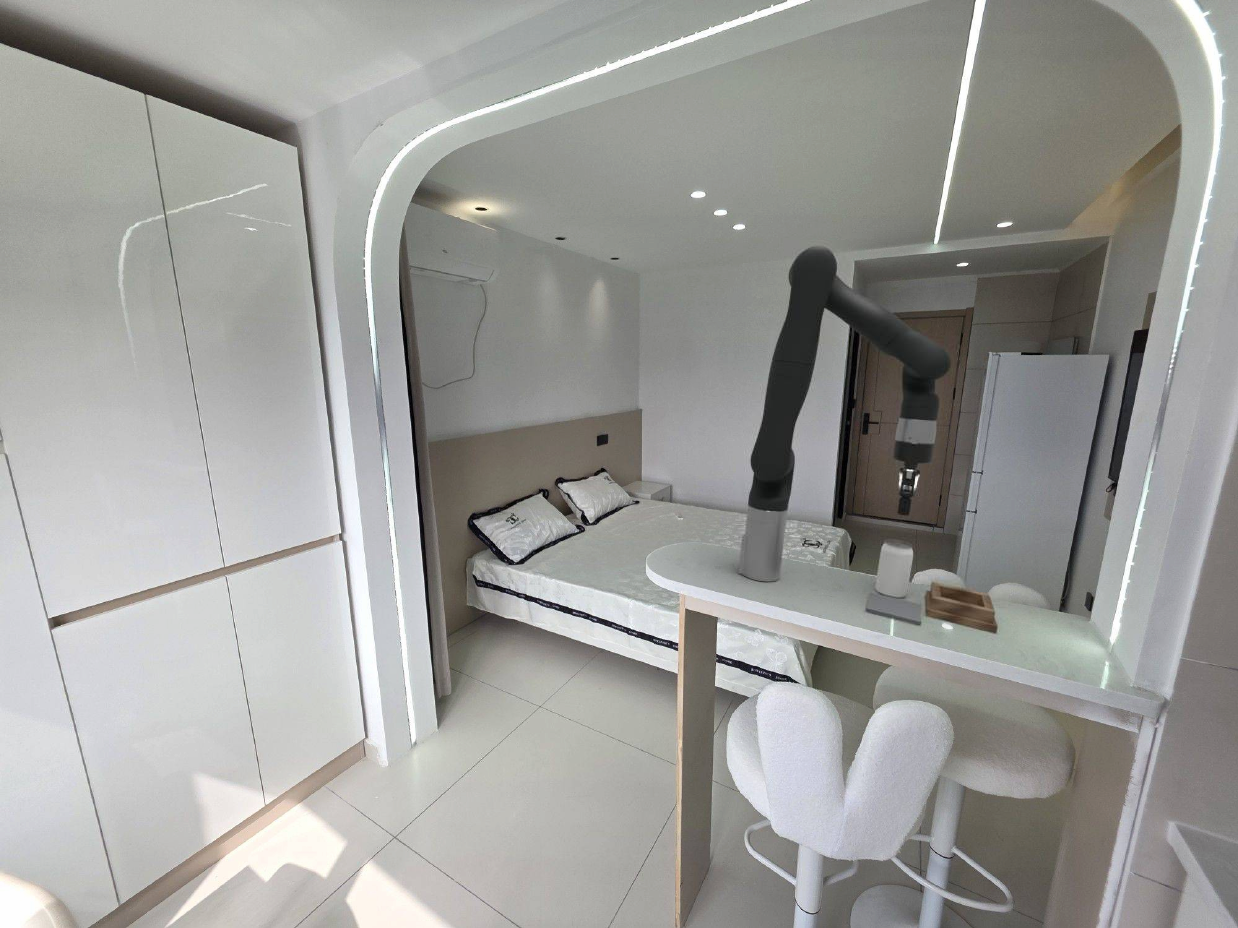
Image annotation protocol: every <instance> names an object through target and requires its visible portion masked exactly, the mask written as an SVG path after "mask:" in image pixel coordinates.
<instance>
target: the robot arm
mask: <svg viewBox="0 0 1238 928" xmlns="http://www.w3.org/2000/svg"><path fill="white" fill-rule="evenodd" d="M837 271H838V263H837V259H836V256H835V255H834V253H833V252H832V250H830V249H829V248H827V247H826V246H823V245H813V246H810V247H808V248H806V249H805V250H803V251H802V252H800V253H799V254H798V255H797V256H796V258H795V259H794V261H793V262H792V264H791V266H790V269H789V272H788V283H789V285H790V292H789V293H790V294H789V299H788V300H789V301H788V307H787V312H786V315H785V318H784V319H785V320H784V322H783V325H782V328H781V330H780V333H779V335H778V339H777V341H776V344H775V347H774V351H773V354H772V358H771V364H770V367H769V372H768V377H767V384H766V389H765V390H766V391H765V398H764V405H763V413H762V420H761V423H760V425H759V427H760V428H759V430H758V434H757V438H756V439H755V443H754V446H753V448H752V451H751V455H750V461H749V462H750V466H751V470H752V472H753V477H752V484H751V488H750V491H749V495H748V501H747V511H746V520H745V527H744V528H745V530H744V534H743V535H742V536H741V544H740V554H739V564H738V574H740V575H743V576H745V577H746V578H748V579H751V580H755V581H759V582H775V581H778V580H779V579H780V576H781V571H782V570H781V569H782V562H783V552H784V544H785V543H784V542H785V536H786V528H787V526H786V525H787V519H788V518H787V517H788V511H789V509H788V508H789V503H790V498H791V493H792V487H793V480H794V474H795V464H796V463H795V462H796V456H795V452H794V450H793V447H792V446H793V439H794V432H795V428H796V424H797V420H798V418H799V415H800V414H801V411H802V408H803V406H804V403H805V401H806V397H807V396H808V392H809V389H810V386H811V382H812V379H813V375H814V374H813V373H814V370H815V365H816V360H817V355H818V348H819V342H820V336H821V335H820V334H821V327H822V321H823V316H824V312H825V309H826V310H827V311H829V312H830V313H832V314H833V315H835V316H836V317H837V318H839V319H840V320H842V321H843V322H844V323H845V324H847V325H848V326H849V327H850V328H852V329H853V330H854V331H855V332H856V333H857V334H859V335H860V336H861V337H862V338H864V339H865V340H866V341H868V342H869V343H870V344H871V345H873V346H874V347H875V348H877V350H879V351H880V352H882V353H883V354H884V355H886V356H888V357H892V358H895V359H897V360H898V361H900V362H901V363H902V370H901V382H902V383H901V386H902V387H901V388H902V389H901V390H902V402H901V405H900V406H901V408H900V414H899V421H898V423H897V426H896V433H895V438H894V439H895V440H894V446H893V452H892V459H894V460H895V461H899V462H904V464H903V465H904V467H900V468H899V472H898V473H899V474H898V477H899V481H898V487H897V488H898V489H899V492H898V498H899V502H898V508H897V514H898V515H900V516H909V515H910V511H911V504H912V500H913V498H914V492H915V491H917V487H918V480H920V477H921V469H917V467H918V466H919V464H931V462H932V460H933V455H934V448H935V441H936V437H937V422H938V421H937V420H938V414H939V406H940V397H939V395H938V394H937V393H936V380H938V379H941V378H943V377H944V376H946V375H947V374H948V372H949V371H950V369H951V366H952V359H951V356H950V354H949V352H948V351H947V350H946V349H945V347H943V346H941V345H940V344H939V343H937V342H935V341H934V340H932V339H931V338H928V337H927V336H925V335H923V334H921V333H919V332H917V331H916V330H914V329H912V327H910V326H909V325H908V324H906V322H904V321H903V320H902V319H901V318H899V317H898V316H896V314H894V313H893V312H892V311H890V310H889V309H887V308H886V307H884V306H882V305H880V304H878V302H875V301H873V300H871V299H869V298H867V297H865V296H864V295H862V294H860V293H858V292H857V291H855V290H854V289H852V287H850V286H849V285H848V284H846V283H845V282H844V281H843V280H842V278H840V277H839V276H838V274H837V273H838V272H837Z"/></svg>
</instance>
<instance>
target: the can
mask: <svg viewBox="0 0 1238 928" xmlns="http://www.w3.org/2000/svg"><path fill="white" fill-rule="evenodd" d="M913 558H914V551H913V545H912V544H911V543H909V542H906V541H903V540H900V539H899V540H897V539H885V540H884V543H883V545H882V546H881V549H880V554H879V561H878V567H877V574H876V582H875V587H874V589H875V590H876V591H877V592H878V594H880V595H884V596H888V597H893V598H897V599H903V598H905V597H906V596H907V593H908V589H909V588H908V587H909V584H910V583H909V582H910V576H911V571H912V565H913ZM896 581H897V582H896Z"/></svg>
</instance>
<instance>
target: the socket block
mask: <svg viewBox="0 0 1238 928" xmlns="http://www.w3.org/2000/svg"><path fill="white" fill-rule="evenodd" d="M924 599H925V617H929V618H932V619H937V620H940V621H945V622H949V623H952V624H956V625H960V626H961V625H962V626H964V627H968V628H973V629H977V630H981V631H984V632H988V633H992V634H993V633H994V634H997V631H998V623H997V620H996V610H995V608H994V605H993V602H992V599H991V596H990V594H989V593H985V592H981V591H980V592H979V591H975V590H971V589H966V588H962V587H957V586H952V585H949V584H944V583H939V582H934V581H931V584H930V590H926V592H925V598H924Z"/></svg>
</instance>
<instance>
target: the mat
mask: <svg viewBox="0 0 1238 928" xmlns="http://www.w3.org/2000/svg"><path fill="white" fill-rule="evenodd" d="M865 612H866V613H870V614H873V615H877V616H881V617H885V618H889V619H892V620H897V621H900V622H903V623H909V624H912V625H916V626H919V627H921V624H922V622H921V621H922V604H920V603H918V602H917V603H916V602H913V601H910V600H905V599H902V598H893V597H888V596H885V595H882V594H880V593H876V592H872V591H870V592H869V595H868V599H867V603H866V607H865Z"/></svg>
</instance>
